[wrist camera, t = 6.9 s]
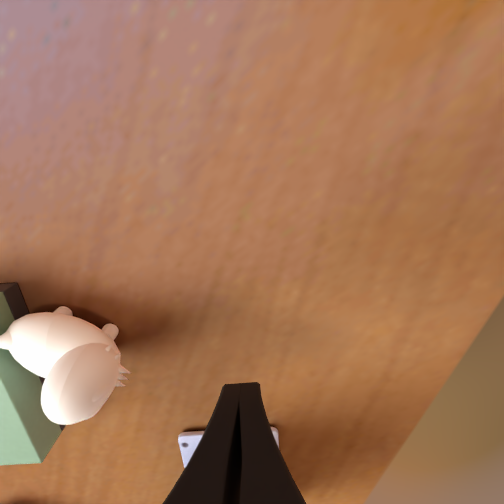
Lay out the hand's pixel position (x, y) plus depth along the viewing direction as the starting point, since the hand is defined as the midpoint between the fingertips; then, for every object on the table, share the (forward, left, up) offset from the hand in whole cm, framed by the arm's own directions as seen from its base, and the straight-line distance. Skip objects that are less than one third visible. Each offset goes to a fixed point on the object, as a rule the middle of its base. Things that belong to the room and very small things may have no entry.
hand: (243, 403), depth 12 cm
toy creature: (-2, +11, -9) cm, 15 cm away
